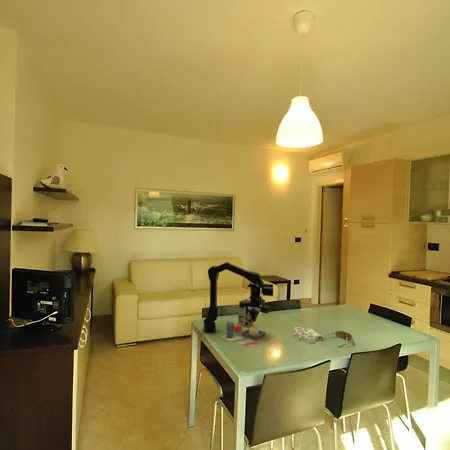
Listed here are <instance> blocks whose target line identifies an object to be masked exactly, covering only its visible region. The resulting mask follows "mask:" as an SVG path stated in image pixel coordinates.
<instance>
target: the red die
mask: <svg viewBox="0 0 450 450" xmlns="http://www.w3.org/2000/svg"><path fill="white" fill-rule="evenodd" d="M242 330H243V326H242V325H239V324H238V323H234V332H238V333H240V332H241V331H242Z"/></svg>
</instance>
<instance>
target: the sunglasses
mask: <svg viewBox="0 0 450 450" xmlns="http://www.w3.org/2000/svg"><path fill="white" fill-rule="evenodd" d="M330 335H335V338H338V339H343V340H346V339H347V341H348V342H347V343H343V344H341V345H339V346H337V348H341V347H344V346H347V345H349V344H351V345H354V341H355V339H354V336H353V334H352V333H351V332H349V331H346V330H335V331H332V332H330V333H328V334H326V335H325V336H324V337H323V340H322V342H324V341H325V339H326V338H327V337H328V336H330Z"/></svg>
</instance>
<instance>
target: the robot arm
mask: <svg viewBox="0 0 450 450" xmlns="http://www.w3.org/2000/svg"><path fill="white" fill-rule="evenodd" d="M223 271H228V272H231V273H233V274H236V275H239V276H240V277H243V278H245V279H246V280H247V281H249V284H247V288H250V295H249V297H248V300H250V303H249V302H246V301H243V302H240V304H239V303H238V308H239V307H240V308H244V307H248V309H247V311H249V313H250V315H251V317H252V319H253V322H254V323H255V322H256V321H257V318H258V316H259V314H260V313H263V314H269V313H271V312H272V307H271V306H270V305H266V304H265V303H266V299H263V298H262V296H261V295H263V296H264V297H274V284H273V283H270V284H269V283H268V284H267V283H264V281H263V279H262V275H261V273H259V272H256V271H250V270H246V269H244V268H242V267H240V266H236V265H234V264H232V263H231V262H228V261H226V262H224V263H221V264H219V265H212V266H210V267H209V268H208V270H207V276H208V280H209V283H210V284H209V307H208V310H207V315H206V317H205V318H204V320H203V331H204V332H206V333H208V334H209V333H211V334H214V333H216V332H217V326H216V322H215V321H217V319H218V318H219V316H220V315H221V311H220V310H221V307H220V306H219V307H218V279H219V277H220V273H222V272H223Z"/></svg>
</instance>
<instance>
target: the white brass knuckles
mask: <svg viewBox="0 0 450 450" xmlns="http://www.w3.org/2000/svg"><path fill="white" fill-rule="evenodd" d="M293 336H295V337H296V338H297V339H298V340H300V341H302V342H305V343H306V344H310V345H311V344H312V345H313V344H315V343H316V341H318V342H320V341H323V340H324V336H323V335H321V334H319V333H318V332H317V331H315V330H313V329H312V328H303V327H299V326H298V327H297V326H296V327H294V328H293ZM317 338H318V339H317Z"/></svg>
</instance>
